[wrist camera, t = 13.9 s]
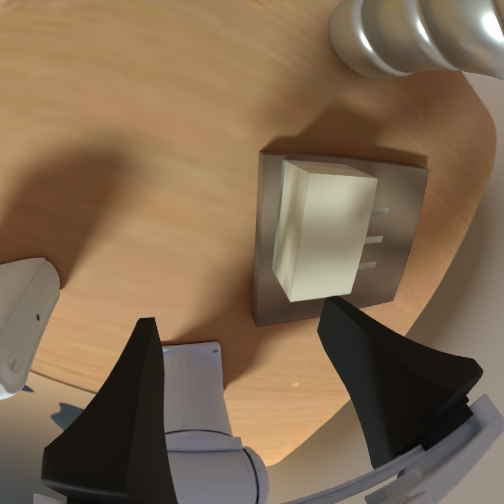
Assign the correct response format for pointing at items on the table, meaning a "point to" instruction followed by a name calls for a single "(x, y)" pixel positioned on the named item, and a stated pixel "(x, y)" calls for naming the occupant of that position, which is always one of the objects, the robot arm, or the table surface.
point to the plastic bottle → (419, 36)
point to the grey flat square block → (375, 246)
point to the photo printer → (23, 317)
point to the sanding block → (321, 227)
